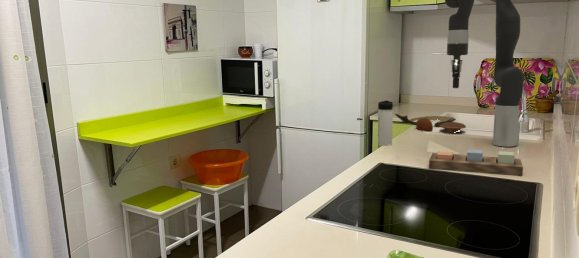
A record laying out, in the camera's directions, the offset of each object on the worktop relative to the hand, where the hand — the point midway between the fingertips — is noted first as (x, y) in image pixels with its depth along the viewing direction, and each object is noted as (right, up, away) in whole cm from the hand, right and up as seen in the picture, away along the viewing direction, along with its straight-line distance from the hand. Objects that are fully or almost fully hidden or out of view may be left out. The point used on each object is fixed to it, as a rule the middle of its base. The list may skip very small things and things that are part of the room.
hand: (455, 88), depth 175 cm
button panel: (+2, -30, -13) cm, 33 cm away
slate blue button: (+2, -27, -14) cm, 30 cm away
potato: (+7, -16, +52) cm, 55 cm away
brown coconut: (+15, -13, +45) cm, 49 cm away
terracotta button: (-8, -28, -10) cm, 30 cm away
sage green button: (+11, -27, -18) cm, 34 cm away
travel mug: (-22, -24, +24) cm, 41 cm away
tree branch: (+9, -15, +69) cm, 72 cm away
